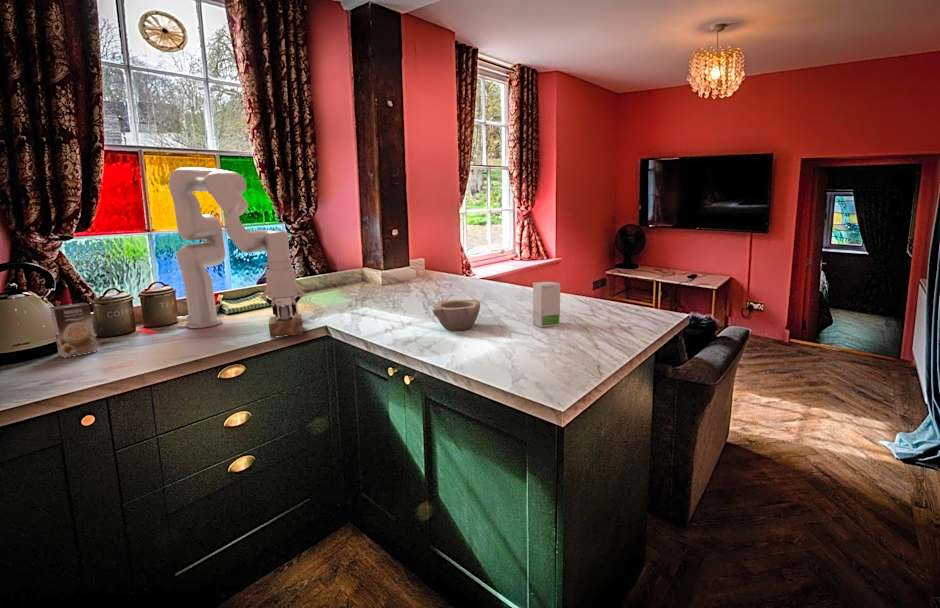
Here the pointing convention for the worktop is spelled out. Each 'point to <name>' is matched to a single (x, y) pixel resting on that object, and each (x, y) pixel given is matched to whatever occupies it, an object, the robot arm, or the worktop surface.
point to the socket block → (286, 326)
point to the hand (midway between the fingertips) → (285, 315)
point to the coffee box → (73, 329)
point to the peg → (284, 312)
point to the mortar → (457, 313)
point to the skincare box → (546, 304)
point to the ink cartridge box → (285, 301)
